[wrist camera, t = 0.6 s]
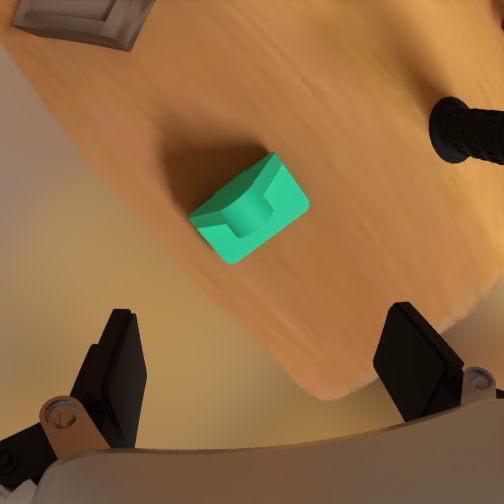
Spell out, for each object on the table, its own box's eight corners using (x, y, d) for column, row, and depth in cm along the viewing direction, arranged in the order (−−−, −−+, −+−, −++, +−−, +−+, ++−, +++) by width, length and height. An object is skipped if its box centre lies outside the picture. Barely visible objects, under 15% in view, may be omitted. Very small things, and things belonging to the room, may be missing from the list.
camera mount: (228, 258, 41) (234, 300, 31) (189, 212, 38) (181, 242, 28) (306, 201, 39) (336, 226, 30) (270, 150, 36) (291, 159, 27)
